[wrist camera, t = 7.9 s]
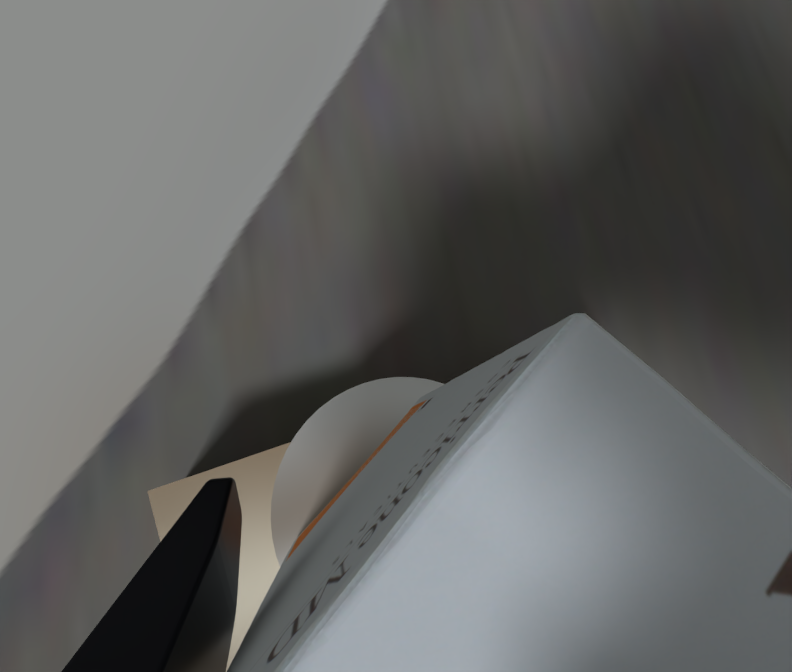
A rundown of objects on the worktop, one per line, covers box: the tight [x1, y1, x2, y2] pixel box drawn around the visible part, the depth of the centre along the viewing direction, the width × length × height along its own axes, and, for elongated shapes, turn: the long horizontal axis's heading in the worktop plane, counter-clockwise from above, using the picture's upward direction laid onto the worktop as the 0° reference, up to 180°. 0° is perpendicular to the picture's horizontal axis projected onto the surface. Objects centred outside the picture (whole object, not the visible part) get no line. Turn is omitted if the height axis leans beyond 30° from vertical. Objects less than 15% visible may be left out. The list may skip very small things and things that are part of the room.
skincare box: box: [227, 313, 792, 672], centre depth 10 cm, size 6×4×12 cm
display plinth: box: [148, 377, 444, 672], centre depth 18 cm, size 15×14×4 cm
